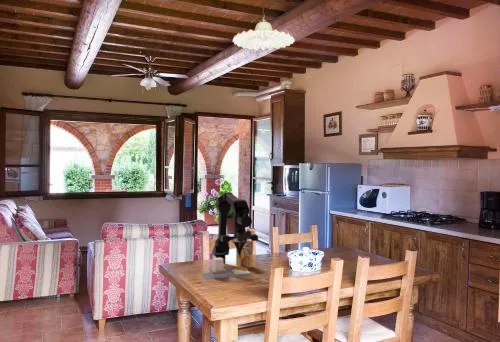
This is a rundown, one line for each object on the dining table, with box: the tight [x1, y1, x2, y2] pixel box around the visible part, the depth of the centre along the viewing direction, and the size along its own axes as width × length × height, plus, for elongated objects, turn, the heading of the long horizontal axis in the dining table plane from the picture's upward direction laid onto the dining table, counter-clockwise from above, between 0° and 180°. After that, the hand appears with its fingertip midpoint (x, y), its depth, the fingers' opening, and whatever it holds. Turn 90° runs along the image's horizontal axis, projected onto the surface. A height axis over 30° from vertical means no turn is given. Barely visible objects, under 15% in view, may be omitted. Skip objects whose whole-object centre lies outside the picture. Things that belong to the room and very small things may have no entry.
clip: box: [223, 263, 248, 271], centre depth 226 cm, size 19×2×1 cm, turn 52°
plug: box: [209, 257, 228, 274], centre depth 224 cm, size 7×7×9 cm
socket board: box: [199, 269, 255, 281], centre depth 226 cm, size 13×26×4 cm, turn 109°
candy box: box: [235, 239, 254, 269], centre depth 246 cm, size 9×4×15 cm, turn 110°
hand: (239, 254), depth 221 cm, fingers closed
